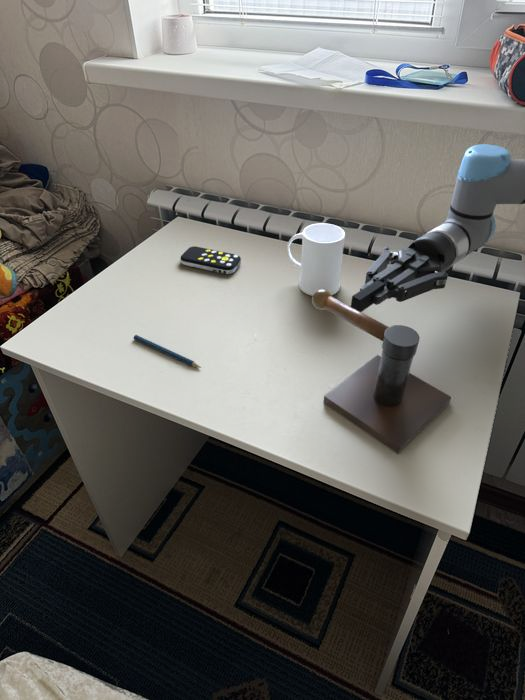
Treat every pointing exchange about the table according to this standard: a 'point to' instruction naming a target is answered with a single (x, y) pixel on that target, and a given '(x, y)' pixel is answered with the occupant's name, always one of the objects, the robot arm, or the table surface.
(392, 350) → the handle
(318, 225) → the mug
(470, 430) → the table surface
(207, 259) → the remote control
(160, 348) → the pencil
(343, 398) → the valve stand
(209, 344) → the table surface
